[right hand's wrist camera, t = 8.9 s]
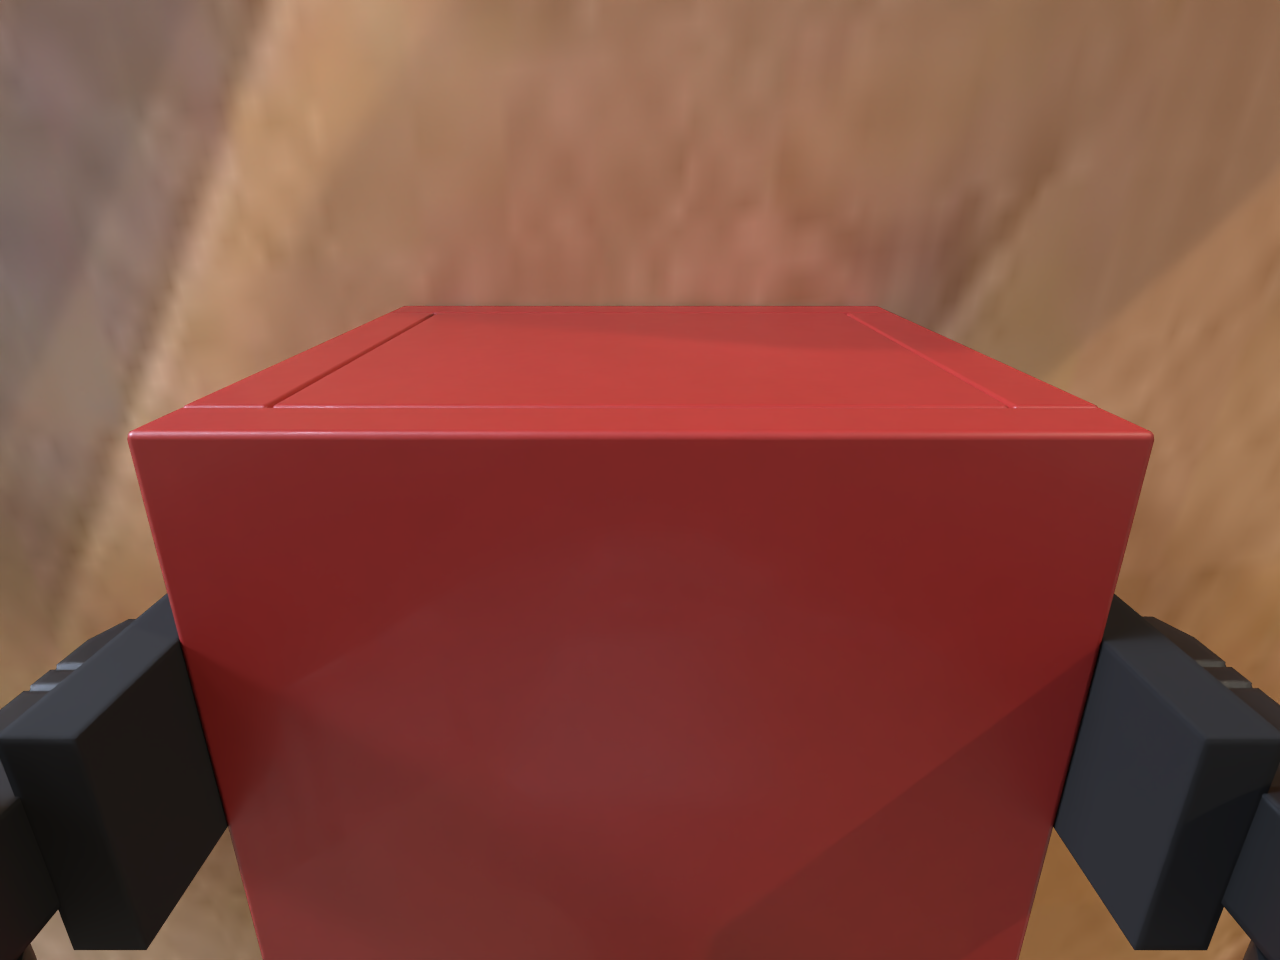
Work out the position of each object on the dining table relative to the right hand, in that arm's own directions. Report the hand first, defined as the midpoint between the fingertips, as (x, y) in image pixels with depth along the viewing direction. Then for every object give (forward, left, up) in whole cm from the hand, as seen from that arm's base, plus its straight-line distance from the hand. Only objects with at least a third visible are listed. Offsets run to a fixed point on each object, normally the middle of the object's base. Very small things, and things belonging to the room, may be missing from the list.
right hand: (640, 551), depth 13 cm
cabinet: (+2, -2, -4) cm, 5 cm away
